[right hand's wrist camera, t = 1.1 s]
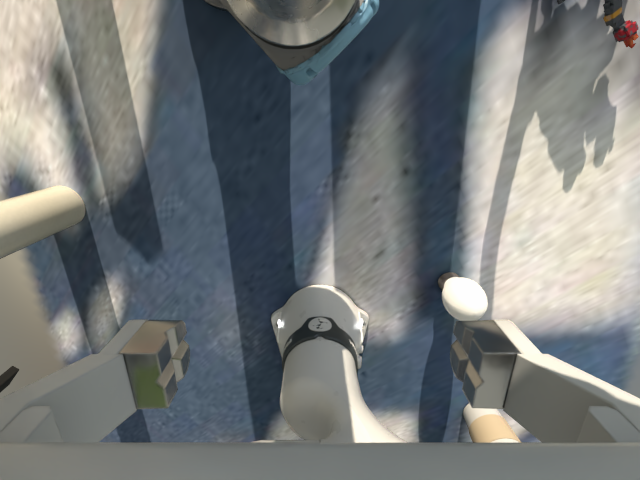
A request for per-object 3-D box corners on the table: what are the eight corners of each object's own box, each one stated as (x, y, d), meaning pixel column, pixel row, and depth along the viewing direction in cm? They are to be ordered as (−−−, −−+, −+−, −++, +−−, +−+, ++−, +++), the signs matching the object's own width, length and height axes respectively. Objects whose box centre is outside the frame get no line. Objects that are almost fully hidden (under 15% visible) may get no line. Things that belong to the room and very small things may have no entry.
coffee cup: (451, 405, 74) (482, 474, 60) (491, 389, 72) (533, 456, 58) (467, 432, 76) (500, 504, 62) (505, 417, 75) (548, 487, 61)
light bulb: (428, 295, 64) (448, 330, 54) (435, 262, 62) (458, 292, 51) (463, 297, 64) (490, 333, 54) (472, 265, 62) (502, 296, 52)
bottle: (35, 192, 57) (-126, 237, 37) (71, 180, 57) (-72, 218, 36) (58, 230, 60) (-81, 291, 39) (93, 218, 59) (-29, 275, 38)
